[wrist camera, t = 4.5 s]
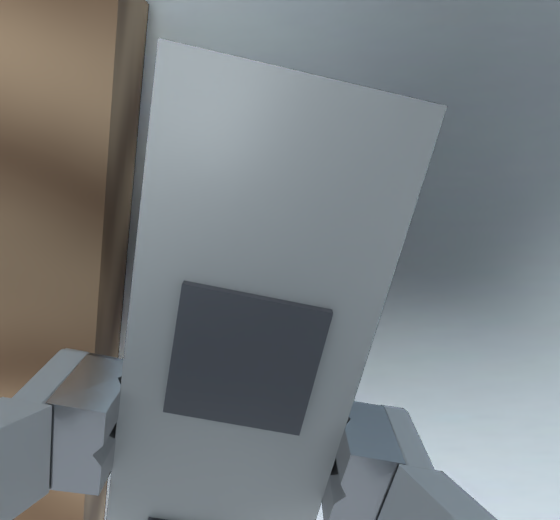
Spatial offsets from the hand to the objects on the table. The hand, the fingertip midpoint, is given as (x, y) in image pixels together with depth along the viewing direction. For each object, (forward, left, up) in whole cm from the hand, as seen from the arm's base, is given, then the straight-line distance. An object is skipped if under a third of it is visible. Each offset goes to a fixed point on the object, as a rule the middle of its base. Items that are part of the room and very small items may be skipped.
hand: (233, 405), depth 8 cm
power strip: (+1, 0, -2) cm, 2 cm away
